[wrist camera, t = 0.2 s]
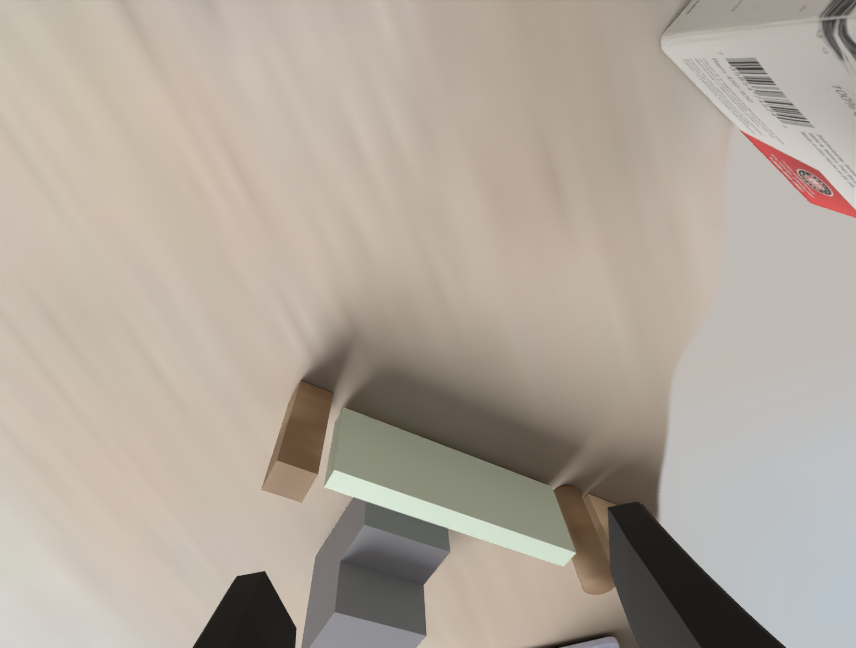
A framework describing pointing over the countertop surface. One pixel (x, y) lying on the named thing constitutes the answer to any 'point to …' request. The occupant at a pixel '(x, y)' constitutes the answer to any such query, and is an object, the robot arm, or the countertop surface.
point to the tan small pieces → (301, 462)
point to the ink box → (780, 83)
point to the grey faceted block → (373, 580)
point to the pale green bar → (445, 487)
